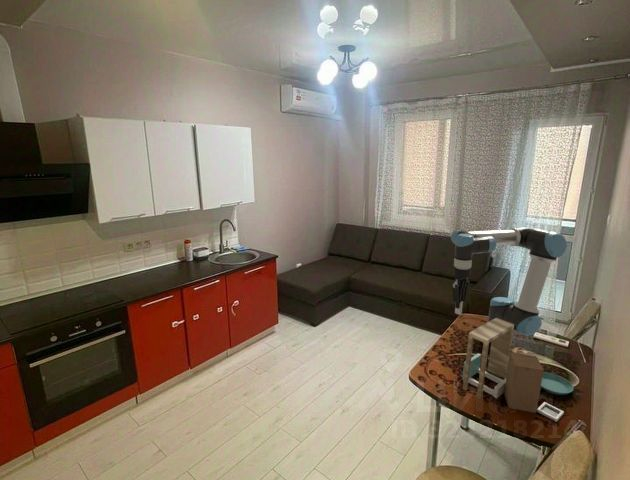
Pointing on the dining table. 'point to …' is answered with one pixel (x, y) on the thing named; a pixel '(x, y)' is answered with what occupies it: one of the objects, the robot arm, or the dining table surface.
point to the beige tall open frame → (499, 352)
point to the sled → (476, 369)
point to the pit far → (550, 411)
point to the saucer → (555, 384)
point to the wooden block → (523, 382)
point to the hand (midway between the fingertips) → (458, 313)
